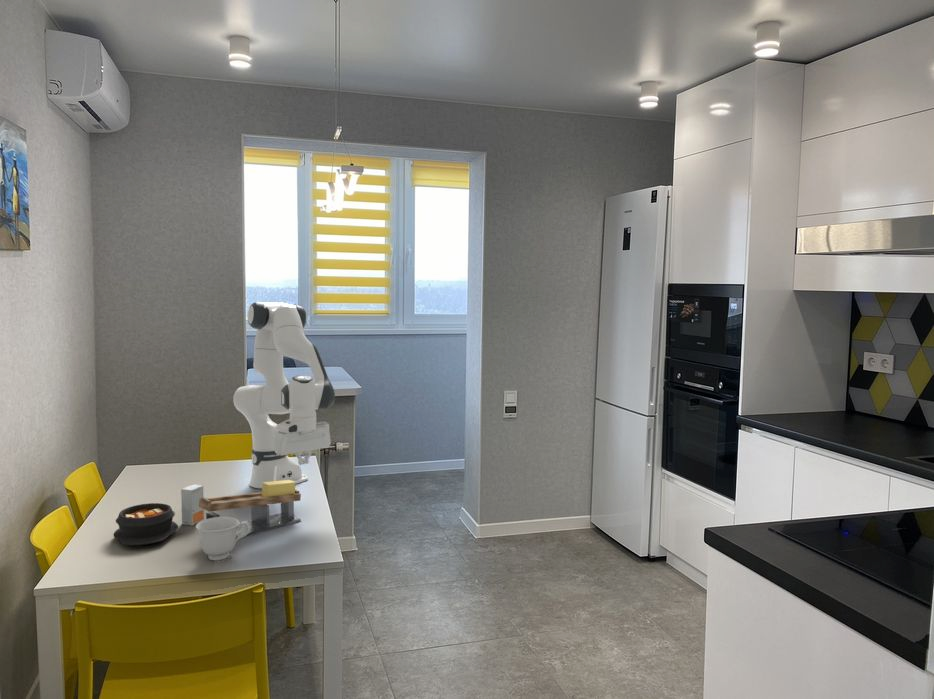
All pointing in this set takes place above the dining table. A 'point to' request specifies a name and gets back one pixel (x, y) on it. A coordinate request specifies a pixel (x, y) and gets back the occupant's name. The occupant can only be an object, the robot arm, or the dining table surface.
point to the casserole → (145, 524)
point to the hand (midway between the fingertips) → (303, 464)
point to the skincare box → (192, 504)
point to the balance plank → (245, 501)
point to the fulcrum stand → (265, 518)
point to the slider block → (278, 488)
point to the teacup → (219, 535)
